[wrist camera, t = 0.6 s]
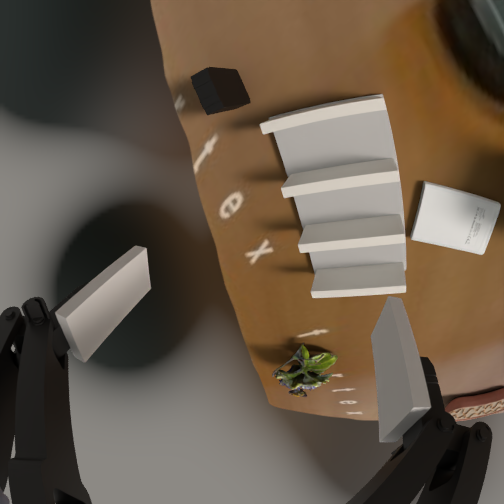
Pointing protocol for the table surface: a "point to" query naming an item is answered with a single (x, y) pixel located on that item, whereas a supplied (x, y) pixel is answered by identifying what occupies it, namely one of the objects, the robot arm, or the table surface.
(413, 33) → the table surface
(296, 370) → the passion flower
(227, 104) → the ink cartridge
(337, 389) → the table surface
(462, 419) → the anatomical model
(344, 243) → the divider rack
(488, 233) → the external hard drive
